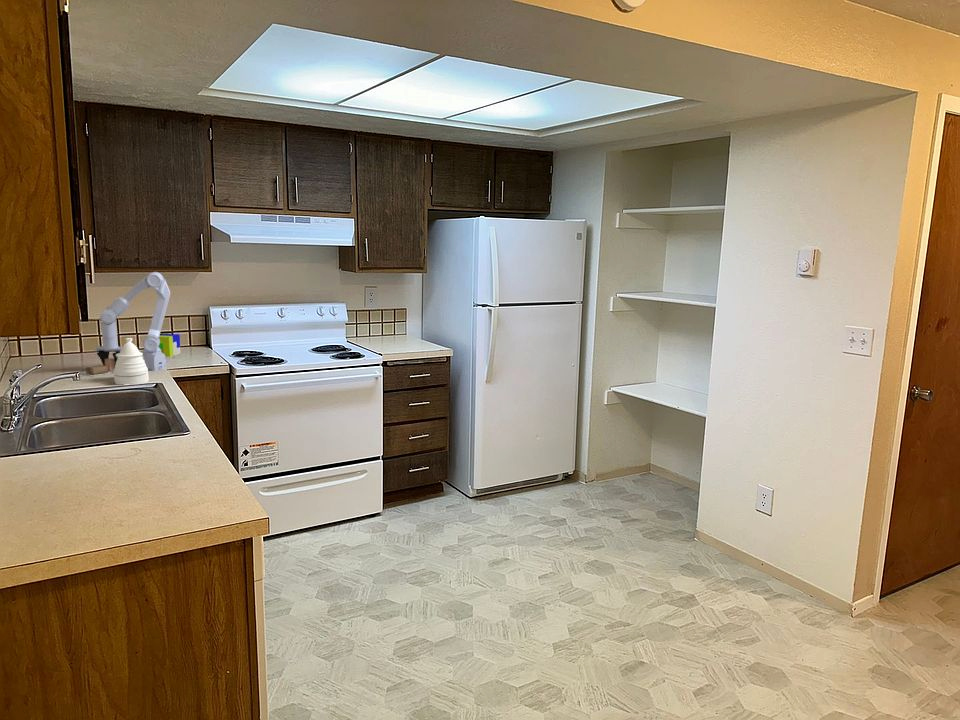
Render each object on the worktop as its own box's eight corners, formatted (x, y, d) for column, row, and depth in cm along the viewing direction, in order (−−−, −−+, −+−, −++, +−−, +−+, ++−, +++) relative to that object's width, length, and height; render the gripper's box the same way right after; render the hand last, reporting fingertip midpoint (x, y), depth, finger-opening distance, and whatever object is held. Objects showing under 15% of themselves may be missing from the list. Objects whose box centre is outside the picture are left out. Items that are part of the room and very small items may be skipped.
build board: (132, 372, 299) (132, 369, 299) (91, 379, 284) (91, 376, 284) (116, 369, 305) (116, 366, 305) (76, 375, 290) (76, 372, 290)
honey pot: (115, 379, 284) (112, 337, 281) (149, 377, 290) (146, 336, 286) (113, 385, 273) (109, 342, 270) (148, 383, 278) (145, 340, 275)
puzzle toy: (180, 353, 349) (179, 334, 347) (169, 356, 339) (168, 337, 337) (162, 352, 350) (161, 333, 348) (151, 355, 340) (149, 336, 338)
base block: (107, 373, 292) (107, 366, 291) (93, 375, 287) (93, 368, 286) (99, 371, 295) (99, 364, 294) (85, 373, 290) (85, 366, 289)
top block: (119, 369, 299) (118, 358, 298) (110, 371, 296) (109, 360, 295) (114, 368, 301) (113, 357, 300) (105, 370, 298) (104, 359, 297)
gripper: (130, 336, 299) (133, 366, 301) (101, 335, 301) (103, 365, 303) (120, 339, 292) (122, 369, 294) (90, 337, 294) (92, 368, 296)
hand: (112, 367), depth 298 cm, fingers closed on top block, 5 cm apart
